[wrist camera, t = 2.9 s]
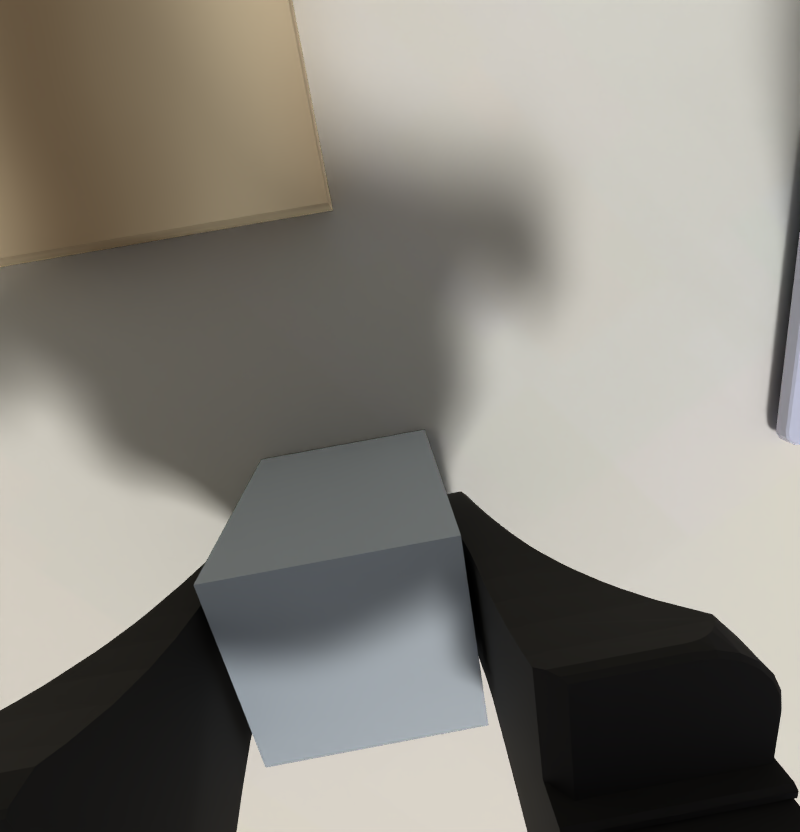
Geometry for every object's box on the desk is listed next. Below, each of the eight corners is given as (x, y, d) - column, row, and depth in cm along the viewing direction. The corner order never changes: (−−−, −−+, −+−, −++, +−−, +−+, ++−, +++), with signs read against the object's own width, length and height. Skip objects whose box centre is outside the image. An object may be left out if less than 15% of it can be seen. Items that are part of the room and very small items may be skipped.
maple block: (242, -265, 8) (204, -425, 6) (334, 212, 11) (327, 202, 9) (-201, -196, 8) (-377, -337, 6) (3, 269, 11) (-76, 270, 9)
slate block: (424, 429, 12) (460, 535, 7) (446, 565, 14) (488, 725, 9) (261, 459, 12) (192, 584, 7) (300, 592, 14) (265, 767, 9)
